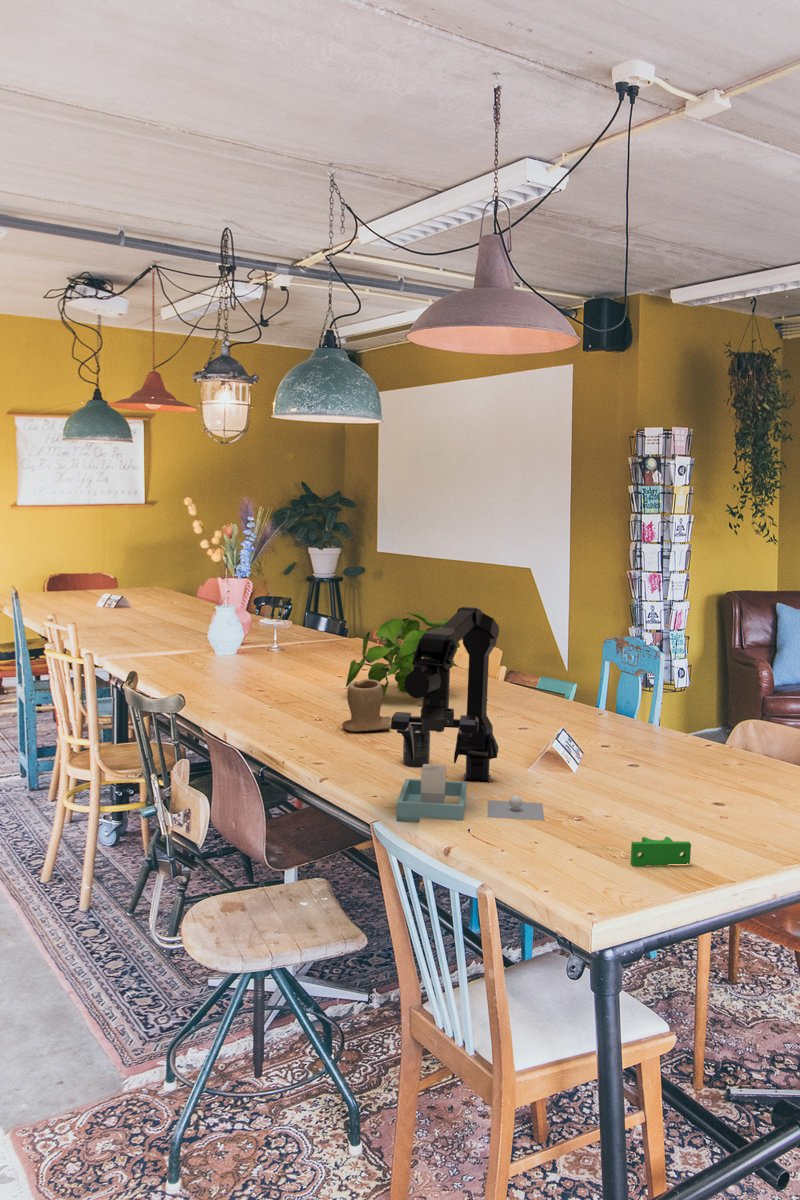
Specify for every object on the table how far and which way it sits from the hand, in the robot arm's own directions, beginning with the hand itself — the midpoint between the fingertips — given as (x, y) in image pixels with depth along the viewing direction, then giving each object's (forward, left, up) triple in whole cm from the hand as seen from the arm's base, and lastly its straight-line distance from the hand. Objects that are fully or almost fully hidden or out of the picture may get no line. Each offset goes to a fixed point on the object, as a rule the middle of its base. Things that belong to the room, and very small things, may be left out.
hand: (433, 761), depth 213 cm
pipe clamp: (+24, +45, -11) cm, 52 cm away
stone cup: (-71, -24, -11) cm, 76 cm away
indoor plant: (-121, -18, -11) cm, 123 cm away
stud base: (0, +18, -11) cm, 21 cm away
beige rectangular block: (0, 0, -10) cm, 10 cm away
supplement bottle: (-37, -7, -11) cm, 39 cm away
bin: (0, 0, -11) cm, 11 cm away
